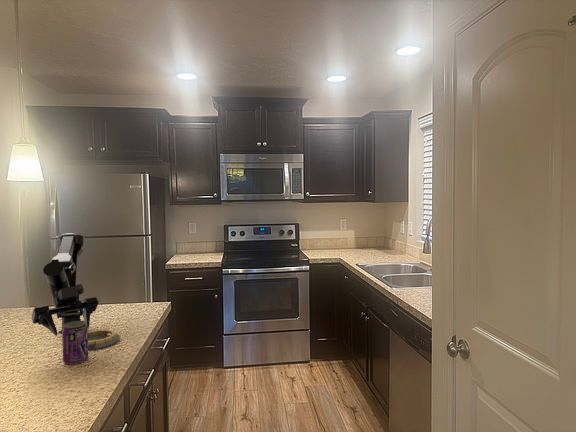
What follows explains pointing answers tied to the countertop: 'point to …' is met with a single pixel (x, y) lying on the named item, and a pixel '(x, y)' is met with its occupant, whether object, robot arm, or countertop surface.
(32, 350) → the countertop surface
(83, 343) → the beverage can
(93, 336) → the carrier plate
